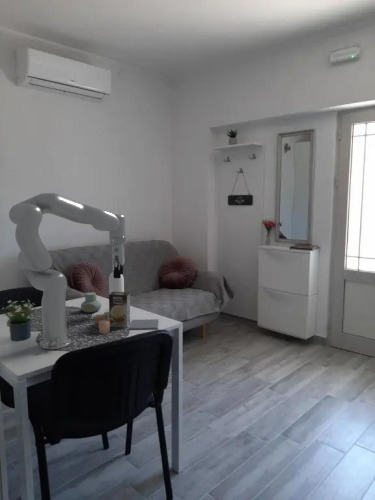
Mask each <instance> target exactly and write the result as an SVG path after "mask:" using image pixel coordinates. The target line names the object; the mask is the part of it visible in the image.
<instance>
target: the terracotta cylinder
mask: <svg viewBox="0 0 375 500" xmlns="http://www.w3.org/2000/svg"><path fill="white" fill-rule="evenodd" d="M110 332H111V327H110V321H109V320H101V321H99V328H98V333H99V334H103V335H106V334H109V333H110Z"/></svg>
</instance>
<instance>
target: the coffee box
mask: <svg viewBox="0 0 375 500" xmlns="http://www.w3.org/2000/svg"><path fill="white" fill-rule="evenodd" d="M108 309H109V321H110V328H123V329H124V328H127V329H128V328H129V327H130V326H131V293H130V292H127V291H126V292H125V291H124V292H112V293H110V294H108Z"/></svg>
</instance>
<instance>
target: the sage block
mask: <svg viewBox="0 0 375 500" xmlns="http://www.w3.org/2000/svg"><path fill="white" fill-rule="evenodd" d="M105 314H107V320H109V308H108V309H105V310H104V314H103V315H105Z"/></svg>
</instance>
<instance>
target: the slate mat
mask: <svg viewBox="0 0 375 500" xmlns="http://www.w3.org/2000/svg"><path fill="white" fill-rule="evenodd" d="M129 330H132V331H133V330H134V331H135V330H159V319H154V318H153V319H132V321H131V322H130V325H129Z"/></svg>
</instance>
